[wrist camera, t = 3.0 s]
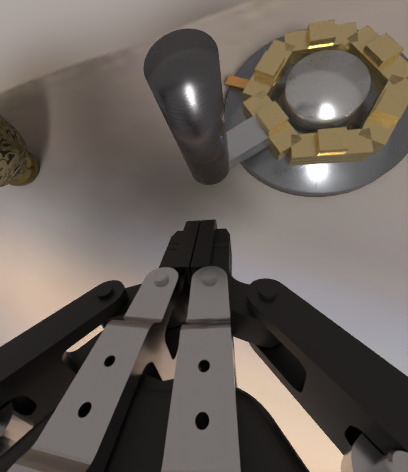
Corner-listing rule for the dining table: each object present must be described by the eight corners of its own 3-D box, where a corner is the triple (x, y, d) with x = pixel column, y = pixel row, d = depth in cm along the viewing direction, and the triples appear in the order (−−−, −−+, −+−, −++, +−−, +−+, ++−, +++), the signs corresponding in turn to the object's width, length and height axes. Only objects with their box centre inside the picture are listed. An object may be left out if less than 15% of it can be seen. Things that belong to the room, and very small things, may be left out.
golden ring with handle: (230, 238, 16) (218, 195, 8) (161, 123, 19) (95, -3, 11) (437, 118, 16) (688, -84, 7) (333, 16, 18) (417, -219, 10)
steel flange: (285, 231, 17) (295, 222, 14) (196, 99, 21) (189, 70, 18) (461, 130, 16) (509, 99, 14) (337, 10, 20) (353, -35, 17)
